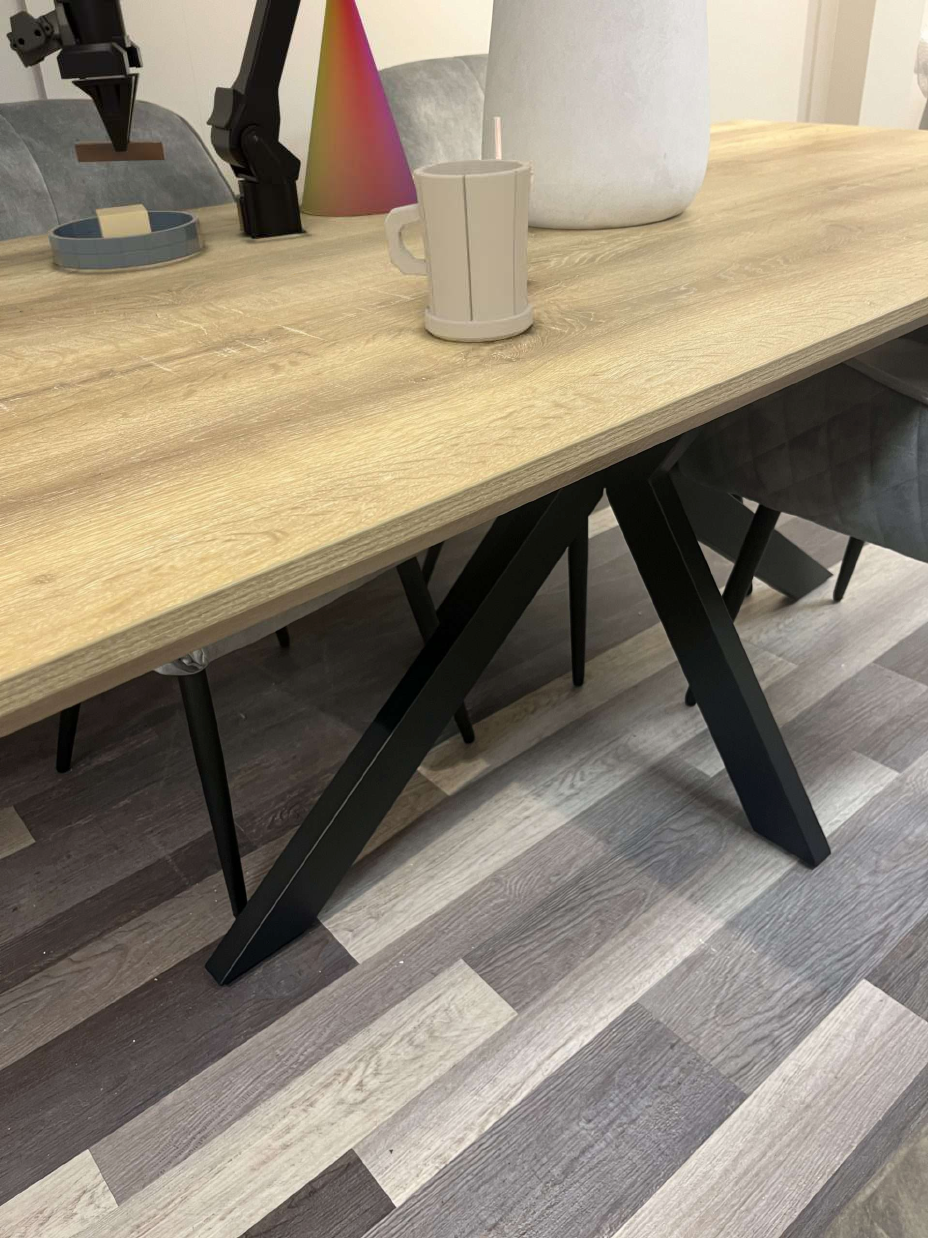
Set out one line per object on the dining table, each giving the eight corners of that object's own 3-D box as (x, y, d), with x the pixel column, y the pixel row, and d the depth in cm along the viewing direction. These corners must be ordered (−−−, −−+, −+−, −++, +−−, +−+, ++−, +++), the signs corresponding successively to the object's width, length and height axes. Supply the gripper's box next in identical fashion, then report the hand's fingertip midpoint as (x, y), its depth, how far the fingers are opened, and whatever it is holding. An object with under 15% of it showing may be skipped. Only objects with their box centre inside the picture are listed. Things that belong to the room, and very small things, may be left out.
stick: (165, 157, 109) (163, 139, 108) (164, 159, 107) (162, 141, 106) (80, 159, 107) (76, 141, 106) (77, 161, 106) (74, 143, 105)
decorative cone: (276, 209, 134) (238, -59, 118) (361, 190, 144) (337, -59, 128) (359, 219, 125) (330, -71, 109) (444, 198, 135) (428, -70, 119)
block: (152, 251, 112) (142, 203, 109) (157, 259, 108) (147, 210, 105) (106, 256, 110) (95, 208, 108) (109, 265, 106) (98, 215, 104)
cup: (436, 354, 75) (424, 182, 68) (387, 327, 82) (373, 169, 75) (554, 330, 79) (553, 165, 72) (498, 306, 86) (493, 154, 79)
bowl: (192, 236, 121) (186, 205, 119) (214, 260, 108) (208, 226, 106) (53, 253, 116) (45, 221, 114) (59, 280, 103) (50, 245, 102)
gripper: (19, -16, 105) (58, 146, 113) (-21, -21, 89) (28, 167, 98) (126, -22, 107) (158, 138, 115) (105, -28, 91) (143, 158, 99)
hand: (122, 149), depth 107 cm, fingers closed on stick, 2 cm apart
